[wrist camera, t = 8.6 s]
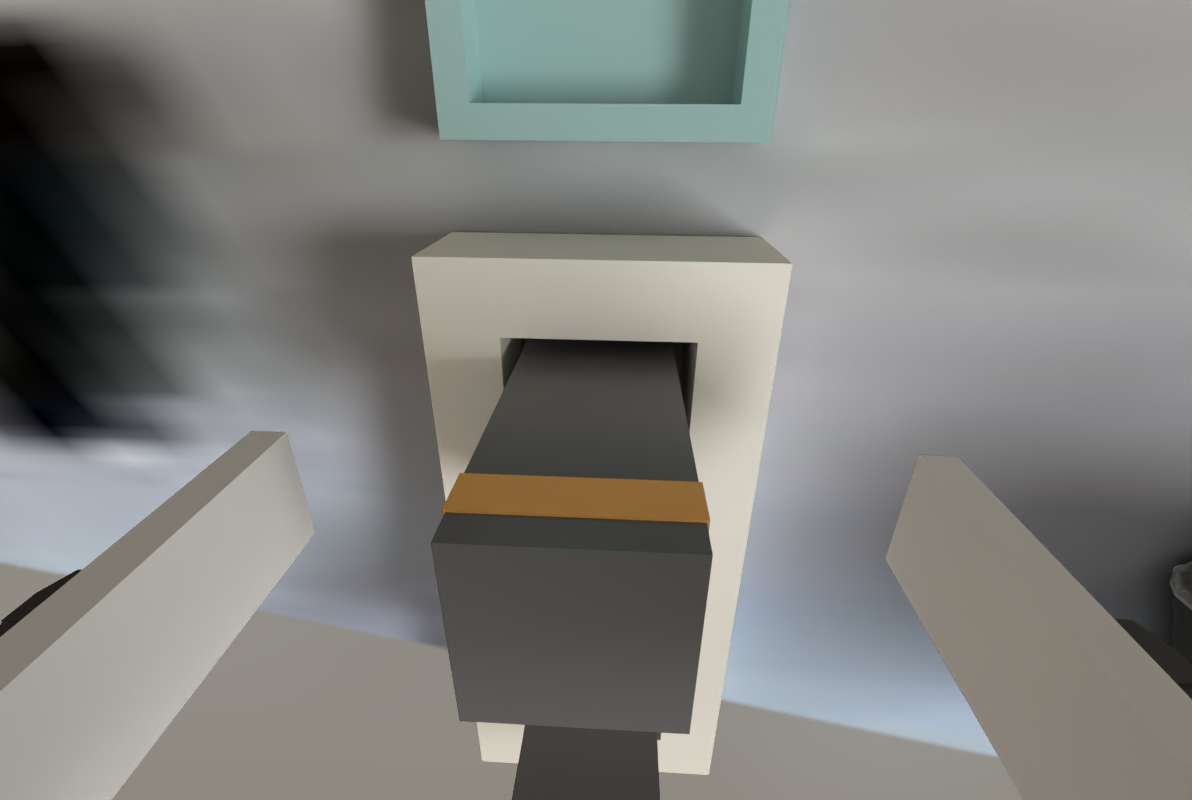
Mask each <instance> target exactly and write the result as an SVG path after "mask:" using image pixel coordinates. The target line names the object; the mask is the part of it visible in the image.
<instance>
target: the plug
mask: <svg viewBox="0 0 1192 800" xmlns="http://www.w3.org/2000/svg"><path fill="white" fill-rule="evenodd" d="M442 514H443V518H442V520H441V523H440V525H439V527H438V529H437V531H436V533H435V535H434V537H433V539H432V541H431V547H432V554H433V560H434V566H435V572H436V578H437V584H438V590H439V597H440V603H441V609H442V615H443V621H444V627H445V634H446V640H447V646H448V652H449V658H450V664H451V670H452V677H453V683H454V689H455V695H456V701H457V707H458V714H459V720H460V721H468V722H486V723H503V724H520V725H537V726H555V727H572V728H589V729H607V730H624V731H641V732H659V733H676V734H690V726H691V719H692V711H693V703H694V696H695V688H696V680H697V673H698V665H699V657H700V650H701V642H702V634H703V627H704V619H705V612H706V604H707V596H708V589H709V581H710V573H711V566H712V558H713V553H712V548H711V543H710V537H709V527H710V516H709V511H708V506H707V501H706V496H705V492H704V487H703V482H699V480H698V475H697V470H696V465H695V460H694V454H693V449H692V444H691V439H690V434H689V428H688V423H687V418H686V413H685V408H684V403H683V397H682V392H681V387H680V382H679V377H678V371H677V366H676V361H675V356H674V351H673V345H672V342H652V341H613V340H573V339H534V338H528V340H527V342H526V344H525V346H524V348H523V350H522V352H521V355H520V357H519V359H518V361H517V363H516V365H515V367H514V369H513V371H512V373H511V376H510V378H509V380H508V382H507V384H506V386H505V388H504V390H503V392H502V394H501V397H500V399H499V401H498V403H497V405H496V407H495V409H494V411H493V413H492V415H491V418H490V420H489V422H488V424H487V426H486V428H485V430H484V432H483V434H482V436H481V439H480V441H479V443H478V445H477V447H476V449H475V451H474V453H473V455H472V457H471V460H470V462H469V464H468V466H467V468H466V470H465V472H464V473H459V475H458V477H457V479H456V482H455V484H454V486H453V488H452V490H451V492H450V494H449V496H448V498H447V500H446V502H445V504H444V506H443V508H442Z"/></svg>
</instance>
